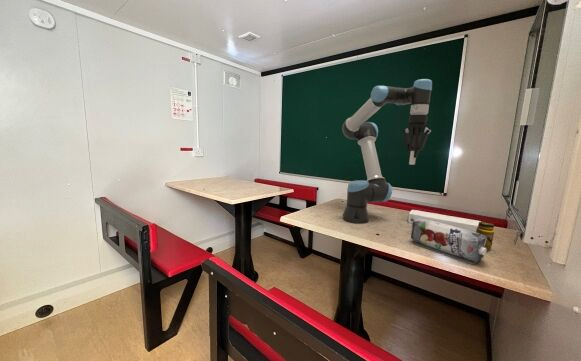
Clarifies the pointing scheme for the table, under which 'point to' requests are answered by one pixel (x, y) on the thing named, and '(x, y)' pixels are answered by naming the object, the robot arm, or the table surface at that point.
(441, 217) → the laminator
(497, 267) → the table surface
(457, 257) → the mat
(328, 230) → the table surface
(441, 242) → the juice carton
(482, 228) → the condiment
